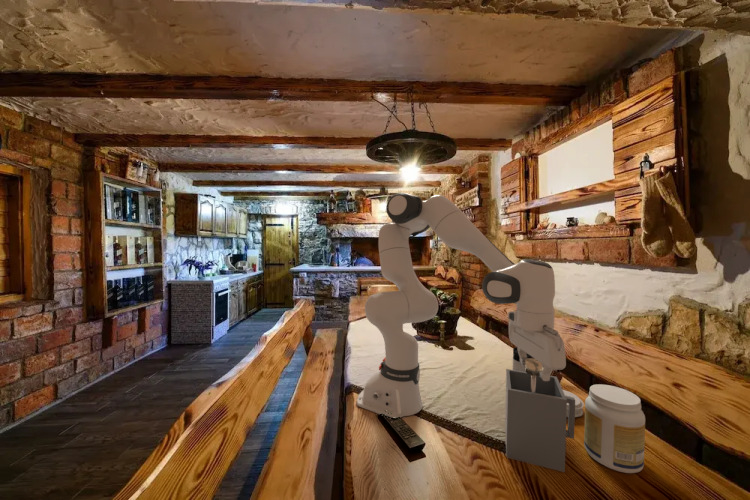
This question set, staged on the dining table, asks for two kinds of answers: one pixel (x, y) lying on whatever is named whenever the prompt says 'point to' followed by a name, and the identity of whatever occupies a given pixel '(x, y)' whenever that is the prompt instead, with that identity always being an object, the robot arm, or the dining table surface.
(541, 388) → the box
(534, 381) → the plunger
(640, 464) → the supplement tub
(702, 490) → the dining table surface
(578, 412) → the lid
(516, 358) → the travel mug
